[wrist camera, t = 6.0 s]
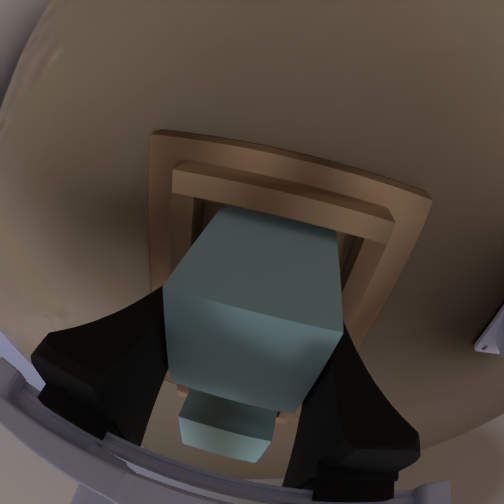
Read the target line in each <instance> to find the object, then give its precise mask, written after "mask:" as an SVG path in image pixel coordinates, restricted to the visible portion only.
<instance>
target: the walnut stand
mask: <svg viewBox="0 0 504 504" xmlns="http://www.w3.org/2000/svg"><path fill="white" fill-rule="evenodd" d="M433 201H434V200H433V199H432V198H431V197H430V196H429V195H428V194H427V193H426V192H425V191H423V190H420V189H417V188H415V187H412V186H409V185H406V184H403V183H400V182H398V181H395V180H392V179H389V178H386V177H382V176H379V175H376V174H373V173H370V172H367V171H363V170H360V169H357V168H353V167H350V166H346V165H343V164H339V163H336V162H332V161H328V160H324V159H320V158H317V157H313V156H309V155H304V154H300V153H296V152H292V151H287V150H283V149H278V148H274V147H269V146H264V145H259V144H254V143H249V142H243V141H238V140H232V139H226V138H220V137H213V136H207V135H200V134H193V133H185V132H177V131H168V130H160V131H157V132H155V133H152V134H150V144H149V174H148V218H149V249H150V267H151V282H152V292H153V291H155V290H156V289H158V288H159V287H161V286H162V285H163V284H164V283H165V282H166V281H167V279H168V278H169V277H170V275H171V274H172V272H173V271H174V270H175V268H176V267H177V265H178V264H179V263H180V261H181V260H182V259H183V257H184V256H185V255H186V253H187V252H188V251H189V249H190V248H191V246H192V245H193V244H194V242H195V241H196V240H197V238H198V237H199V236H200V234H201V233H202V232H203V231H204V229H205V228H206V227H207V225H208V224H209V223H210V221H211V220H212V219H213V217H214V216H215V215H216V214H217V212H218V211H219V210H220V208H221V207H222V206H223V205H224V204H228V205H232V206H236V207H241V208H245V209H250V210H254V211H258V212H262V213H267V214H271V215H275V216H279V217H283V218H287V219H291V220H295V221H299V222H303V223H307V224H311V225H315V226H319V227H323V228H327V229H331V230H334V231H336V236H337V246H338V256H339V268H340V280H341V294H342V311H343V320H344V323H345V325H346V328H347V330H348V332H349V335H350V337H351V339H352V341H353V344H354V346H355V348H356V350H358V349H359V347H360V345H361V344H362V342H363V341H364V339H365V337H366V336H367V334H368V332H369V331H370V329H371V328H372V326H373V324H374V322H375V321H376V319H377V317H378V316H379V314H380V312H381V310H382V309H383V307H384V305H385V303H386V301H387V300H388V298H389V296H390V294H391V292H392V290H393V289H394V287H395V285H396V283H397V281H398V279H399V277H400V275H401V273H402V271H403V269H404V267H405V265H406V263H407V261H408V259H409V257H410V255H411V253H412V250H413V248H414V246H415V244H416V242H417V240H418V237H419V235H420V233H421V230H422V228H423V226H424V223H425V221H426V219H427V216H428V214H429V211H430V209H431V206H432V204H433ZM164 380H165V381H168V382H170V383H173V384H176V385H177V391H178V396H180V397H183V398H186V399H185V402H184V404H183V407H182V409H181V412H180V414H179V423H180V430H181V436H182V443H183V444H186V445H189V446H193V447H196V448H199V449H202V450H205V451H209V452H212V453H216V454H220V455H223V456H227V457H231V458H235V459H239V460H244V461H248V462H253V463H256V462H257V460H258V459H259V458H260V456H261V455H262V454H263V452H264V451H265V450H266V448H267V447H268V446H269V444H270V443H271V441H272V436H273V431H274V426H275V423H280V424H286V425H287V424H288V422H289V421H290V420H291V418H292V417H293V416H298V417H300V413H301V408H302V403H301V405H300V406H299V408H298V409H297V411H296V412H295V414H289V413H284V412H279V411H274V410H270V409H265V408H261V407H256V406H252V405H248V404H244V403H240V402H236V401H233V400H229V399H225V398H222V397H218V396H215V395H212V394H208V393H205V392H202V391H199V390H195V389H192V388H189V387H186V386H183V385H180V384H177V383H175V382H172V381H170V375H169V369H168V371H167V373H166V376H165V378H164Z"/></svg>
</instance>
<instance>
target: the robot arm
mask: <svg viewBox="0 0 504 504" xmlns="http://www.w3.org/2000/svg"><path fill="white" fill-rule="evenodd" d="M163 285H164V284H163ZM163 285H162V286H161V287H159V288H158V289H156V290H155V291H153V292H152V293H150V294H149V295H147V296H145V297H144V298H142V299H140V300H139V301H137V302H135V303H134V304H132V305H130V306H128V307H126V308H124V309H122V310H120V311H118V312H116V313H114V314H111V315H109V316H106V317H104V318H101V319H99V320H96V321H93V322H90V323H87V324H84V325H81V326H77V327H74V328H70V329H65V330H60V331H56V332H50V333H48V334H47V336H46V337H45V338H44V339H43V340H42V342H41V343H40V344H39V345H38V347H37V348H36V349H35V351H34V352H33V353H32V354H31V361H32V364H33V365H34V367H35V369H36V370H37V372H38V373H39V375H40V376H41V377H42V379H43V380H44V381H45V383H46V385H45V386H44V388H43V389H42V391H41V392H40V391H39V390H37V389H36V388H35V387H33V386H32V385H30V384H29V383H28V382H26V379H25V378H24V377H23V375H22V374H21V373H20V372H19V371H18V370H17V369H16V368H15V367H14V366H12V365H11V364H10V363H9V362H8V361H6V360H5V359H4V358H2V357H1V358H0V423H1V424H2V425H3V426H4V427H5V428H6V429H7V430H8V431H10V432H11V433H12V434H13V435H14V436H15V437H17V439H19V440H20V441H21V442H22V443H24V444H25V445H26V446H27V447H28V448H30V449H31V450H32V451H33V452H35V453H36V454H37V455H39V456H40V457H41V458H43V459H44V460H45V461H47V462H48V463H49V464H51V465H52V466H54V467H55V468H57V469H58V470H60V471H61V472H62V473H64V474H66V475H67V476H69V477H70V478H72V479H74V480H75V481H77V482H78V483H80V484H79V486H78V488H77V490H76V492H75V494H74V496H73V499H72V501H71V503H70V504H232V503H228V502H224V501H220V500H217V499H213V498H209V497H206V496H202V495H199V494H196V493H192V492H189V491H186V490H183V489H180V488H177V487H174V486H170V485H168V484H165V483H162V482H159V481H156V480H154V479H151V478H148V477H146V476H143V475H140V474H137V473H136V472H134V471H133V470H131V469H130V468H129V467H128V466H127V463H126V462H125V461H123V460H121V459H119V458H118V457H120V458H122V459H124V460H126V461H128V462H131V463H133V464H135V465H137V466H140V467H142V468H145V469H147V470H149V471H152V472H154V473H157V474H160V475H162V476H165V477H168V478H170V479H173V480H176V481H179V482H182V483H185V484H188V485H192V486H195V487H198V488H202V489H205V490H208V491H212V492H216V493H220V494H224V495H228V496H232V497H237V498H241V499H246V500H252V501H257V502H263V503H269V504H451V493H450V481H449V480H446V481H441V482H434V483H428V484H424V485H421V486H419V487H417V488H415V489H413V490H404V491H403V490H402V491H394V481H397V480H398V472H399V471H400V470H402V469H404V468H406V467H407V466H410V465H411V464H413V463H414V462H416V461H417V460H418V459H419V457H420V440H419V434H418V432H417V431H416V430H415V429H414V428H413V427H412V426H411V425H410V424H409V423H408V422H407V421H406V420H405V419H404V418H403V417H402V416H401V415H400V414H399V413H398V412H397V411H396V409H395V408H394V407H393V406H392V405H391V404H390V402H389V401H388V400H387V399H386V397H385V396H384V395H383V393H382V392H381V391H380V389H379V388H378V386H377V385H376V383H375V382H374V381H373V379H372V377H371V376H370V374H369V372H368V371H367V369H366V367H365V366H364V364H363V362H362V360H361V358H360V356H359V354H358V352H357V350H356V348H355V346H354V344H353V341H352V339H351V337H350V335H349V332H348V330H347V328H346V325H345V323H344V320H343V334H342V336H341V338H340V340H339V342H338V344H337V345H336V347H335V349H334V351H333V352H332V354H331V356H330V358H329V359H328V361H327V363H326V365H325V366H324V368H323V370H322V371H321V373H320V375H319V376H318V378H317V379H316V381H315V383H314V384H313V386H312V388H311V389H310V391H309V392H308V394H307V395H306V397H305V398H304V400H303V402H302V408H301V413H300V418H299V423H298V428H297V433H296V437H295V442H294V446H293V450H292V454H291V458H290V461H289V465H288V468H287V472H286V475H285V478H284V482H283V485H282V487H280V486H274V485H268V484H263V483H257V482H252V481H247V480H243V479H238V478H234V477H230V476H226V475H222V474H218V473H214V472H211V471H207V470H204V469H200V468H197V467H194V466H191V465H187V464H184V463H181V462H179V461H176V460H173V459H170V458H167V457H165V456H162V455H159V454H157V453H154V452H152V451H149V450H147V449H144V448H142V447H140V446H141V443H142V440H143V437H144V433H145V430H146V427H147V424H148V421H149V418H150V415H151V412H152V409H153V407H154V404H155V401H156V398H157V396H158V393H159V391H160V388H161V385H162V383H163V381H164V378H165V376H166V373H167V371H168V369H169V366H168V356H167V345H166V333H165V319H164V303H163ZM474 349H475V351H478V352H486V353H494V354H500V355H501V357H502V360H503V362H504V305H503V306H502V307H501V309H500V310H499V312H498V313H497V315H496V316H495V318H494V319H493V320H492V322H491V323H490V324H489V326H488V327H487V328H486V330H485V331H484V332H483V334H482V335H481V336H480V338H479V339H478V340H477V341H476V343H475V344H474ZM107 451H108V452H107ZM109 452H110V453H109ZM111 453H112V454H114V455H116V456H118V457H116V456H114V455H112V454H111Z"/></svg>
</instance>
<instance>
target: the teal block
mask: <svg viewBox="0 0 504 504" xmlns="http://www.w3.org/2000/svg"><path fill="white" fill-rule="evenodd" d="M163 303H164V319H165V333H166V345H167V356H168V366H169V375H170V381H172V382H175V383H177V384H180V385H183V386H186V387H189V388H192V389H195V390H199V391H202V392H205V393H208V394H212V395H215V396H218V397H222V398H225V399H229V400H233V401H236V402H240V403H244V404H248V405H252V406H256V407H261V408H265V409H270V410H274V411H279V412H284V413H289V414H295V412H296V411H297V409H298V408H299V406H300V405H301V403H302V402H303V400H304V398H305V397H306V395H307V394H308V392H309V391H310V389H311V388H312V386H313V384H314V383H315V381H316V379H317V378H318V376H319V375H320V373H321V371H322V370H323V368H324V366H325V365H326V363H327V361H328V359H329V358H330V356H331V354H332V352H333V351H334V349H335V347H336V345H337V344H338V342H339V340H340V338H341V336H342V334H343V311H342V294H341V280H340V268H339V256H338V246H337V236H336V231H334V230H331V229H327V228H323V227H319V226H315V225H311V224H307V223H303V222H299V221H295V220H291V219H287V218H283V217H279V216H275V215H271V214H267V213H262V212H258V211H254V210H250V209H245V208H241V207H236V206H232V205H228V204H224V205H223V206H222V207H221V208H220V210H219V211H218V212H217V214H216V215H215V216H214V217H213V219H212V220H211V221H210V223H209V224H208V225H207V227H206V228H205V229H204V231H203V232H202V233H201V234H200V236H199V237H198V238H197V240H196V241H195V242H194V244H193V245H192V246H191V248H190V249H189V251H188V252H187V253H186V255H185V256H184V257H183V259H182V260H181V261H180V263H179V264H178V265H177V267H176V268H175V270H174V271H173V272H172V274H171V275H170V277H169V278H168V279H167V281H166V282H165V283H164V285H163Z"/></svg>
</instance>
